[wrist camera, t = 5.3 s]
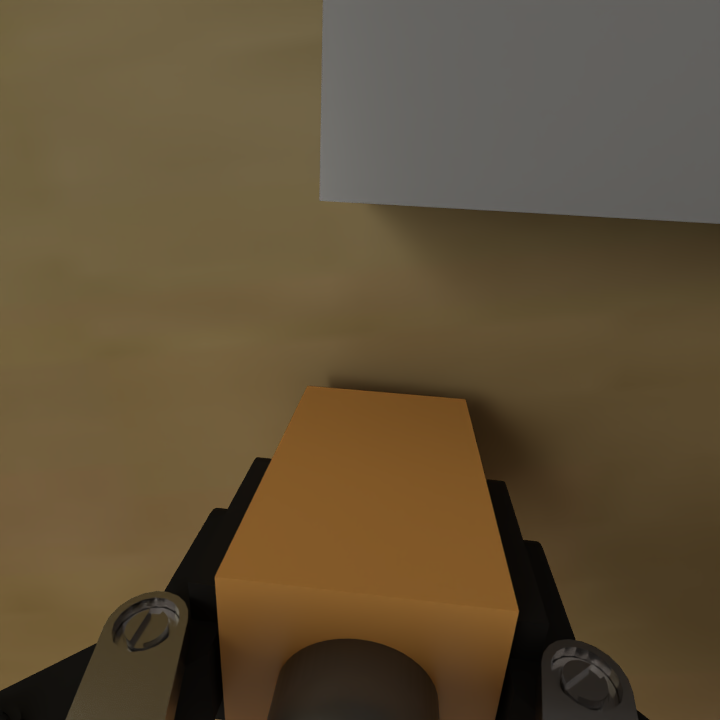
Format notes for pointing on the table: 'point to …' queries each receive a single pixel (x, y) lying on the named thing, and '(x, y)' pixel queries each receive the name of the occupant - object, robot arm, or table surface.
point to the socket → (524, 106)
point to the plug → (367, 569)
